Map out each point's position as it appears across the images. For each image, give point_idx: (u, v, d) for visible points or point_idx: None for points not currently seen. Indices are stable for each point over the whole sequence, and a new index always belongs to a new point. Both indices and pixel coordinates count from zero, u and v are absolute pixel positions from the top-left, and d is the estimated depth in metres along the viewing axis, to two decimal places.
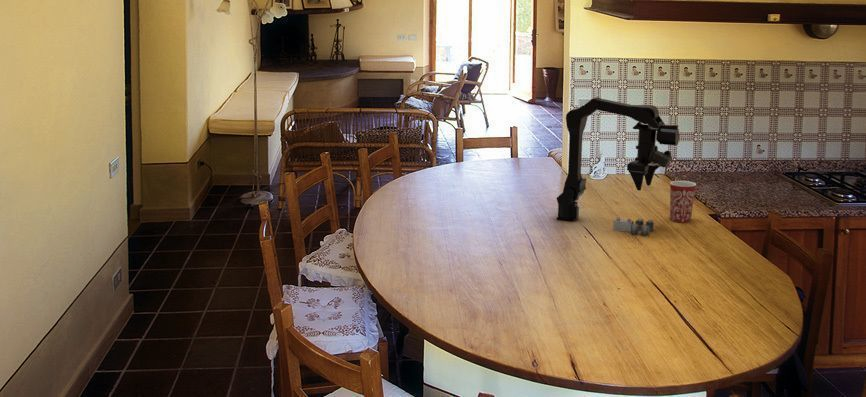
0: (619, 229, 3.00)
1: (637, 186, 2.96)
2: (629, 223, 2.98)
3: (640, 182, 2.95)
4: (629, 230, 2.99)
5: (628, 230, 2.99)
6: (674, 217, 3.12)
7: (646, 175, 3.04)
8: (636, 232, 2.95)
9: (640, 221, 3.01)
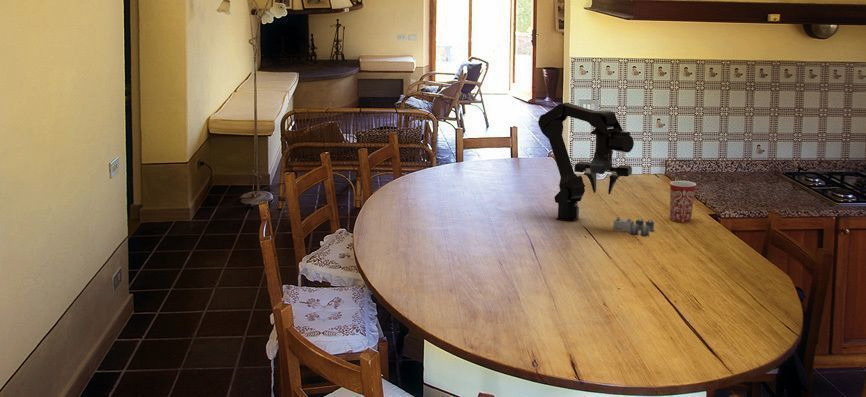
0: (619, 229, 3.00)
1: None
2: (629, 223, 2.98)
3: None
4: (629, 230, 2.99)
5: (628, 230, 2.99)
6: (674, 217, 3.12)
7: None
8: (636, 232, 2.95)
9: (640, 221, 3.01)
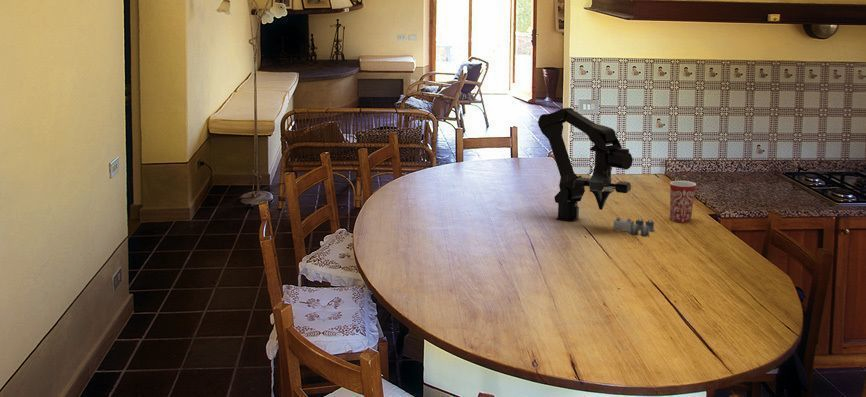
0: (619, 229, 3.00)
1: None
2: (629, 223, 2.98)
3: None
4: (629, 230, 2.99)
5: (628, 230, 2.99)
6: (674, 217, 3.12)
7: None
8: (636, 232, 2.95)
9: (640, 221, 3.01)
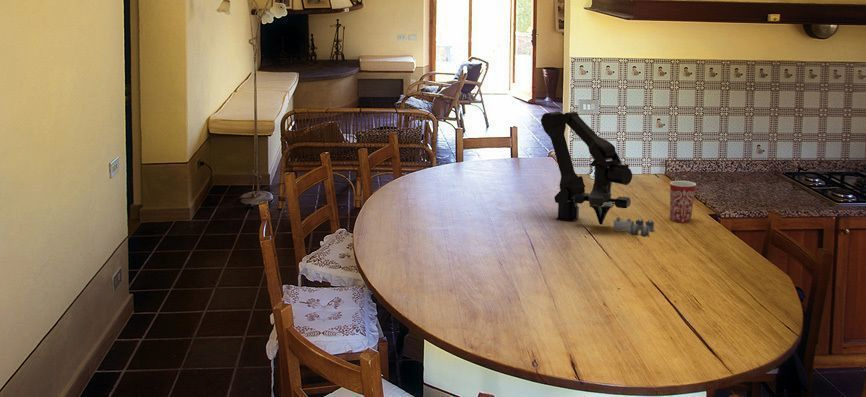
0: (619, 229, 3.00)
1: None
2: (629, 223, 2.98)
3: None
4: (629, 230, 2.99)
5: (628, 230, 2.99)
6: (674, 217, 3.12)
7: None
8: (636, 232, 2.95)
9: (640, 221, 3.01)
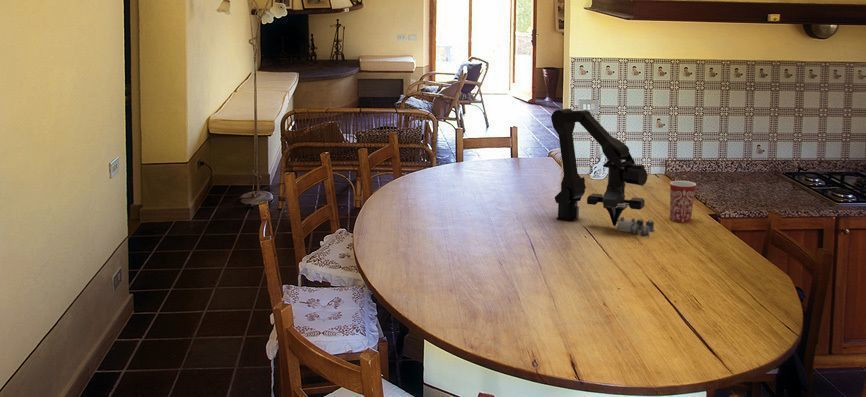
0: (623, 229, 3.00)
1: None
2: (633, 223, 2.98)
3: None
4: None
5: None
6: (674, 217, 3.12)
7: None
8: (636, 232, 2.95)
9: (640, 221, 3.01)
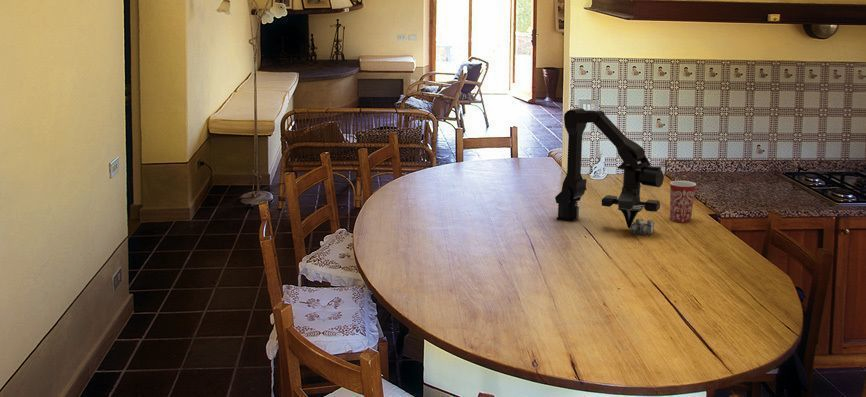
0: (639, 231, 2.97)
1: None
2: (649, 225, 2.95)
3: None
4: (649, 232, 2.96)
5: None
6: (674, 217, 3.12)
7: None
8: (636, 232, 2.95)
9: None
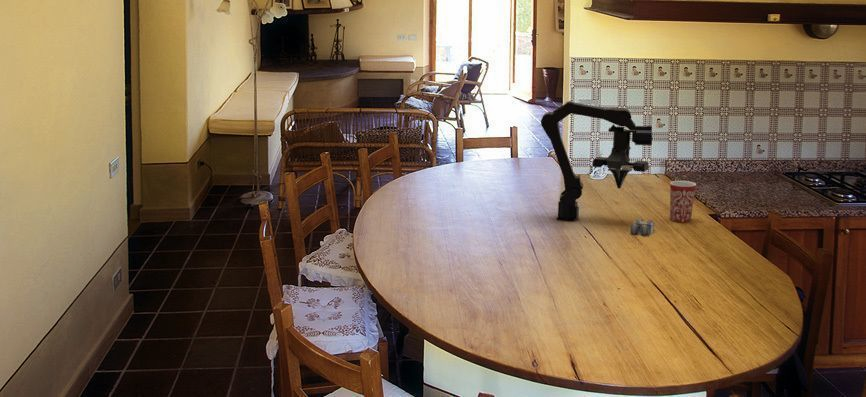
0: (639, 231, 2.97)
1: None
2: (649, 225, 2.95)
3: None
4: (649, 232, 2.96)
5: None
6: (674, 217, 3.12)
7: None
8: (636, 232, 2.95)
9: None
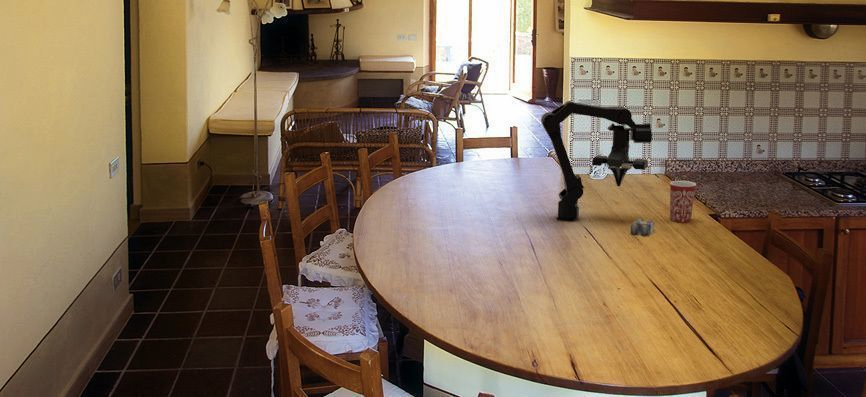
0: (639, 231, 2.97)
1: None
2: (649, 225, 2.95)
3: None
4: (649, 232, 2.96)
5: None
6: (674, 217, 3.12)
7: None
8: (636, 232, 2.95)
9: None
